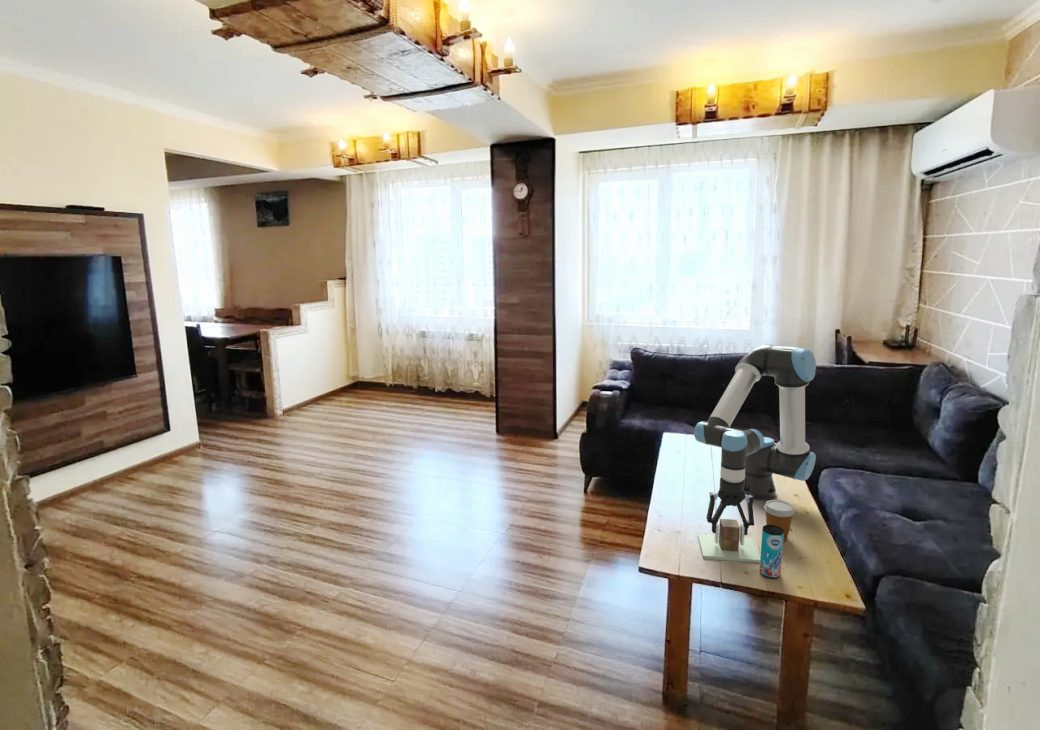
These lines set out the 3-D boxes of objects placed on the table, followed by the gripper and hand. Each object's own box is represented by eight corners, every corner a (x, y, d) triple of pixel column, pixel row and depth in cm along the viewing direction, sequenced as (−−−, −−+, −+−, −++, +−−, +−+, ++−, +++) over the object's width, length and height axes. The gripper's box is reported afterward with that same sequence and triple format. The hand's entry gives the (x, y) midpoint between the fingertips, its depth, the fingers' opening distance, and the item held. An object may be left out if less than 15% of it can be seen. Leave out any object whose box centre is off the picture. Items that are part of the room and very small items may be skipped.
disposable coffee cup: (790, 547, 182) (793, 514, 179) (760, 540, 187) (762, 507, 184) (793, 534, 189) (796, 503, 187) (764, 528, 194) (766, 497, 192)
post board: (752, 541, 186) (753, 522, 185) (761, 563, 172) (763, 543, 171) (697, 537, 189) (698, 518, 188) (703, 558, 176) (704, 538, 175)
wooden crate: (735, 543, 183) (736, 519, 181) (738, 551, 178) (739, 527, 176) (718, 541, 184) (719, 518, 182) (721, 550, 179) (722, 526, 177)
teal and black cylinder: (762, 578, 164) (765, 533, 161) (757, 568, 170) (760, 524, 167) (783, 580, 163) (786, 534, 160) (777, 569, 169) (780, 525, 166)
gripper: (762, 475, 178) (758, 539, 182) (698, 472, 182) (696, 534, 186) (768, 484, 170) (763, 550, 175) (701, 481, 174) (698, 545, 179)
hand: (728, 542), depth 180 cm, fingers open, 7 cm apart
